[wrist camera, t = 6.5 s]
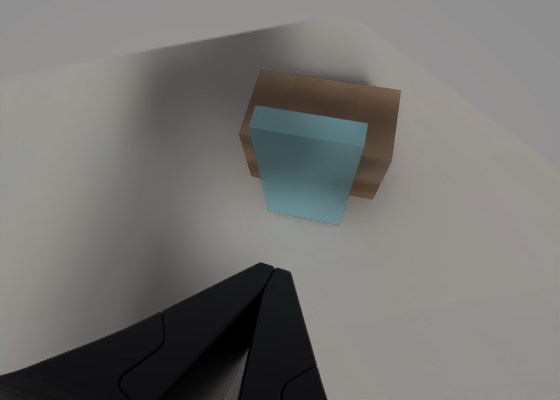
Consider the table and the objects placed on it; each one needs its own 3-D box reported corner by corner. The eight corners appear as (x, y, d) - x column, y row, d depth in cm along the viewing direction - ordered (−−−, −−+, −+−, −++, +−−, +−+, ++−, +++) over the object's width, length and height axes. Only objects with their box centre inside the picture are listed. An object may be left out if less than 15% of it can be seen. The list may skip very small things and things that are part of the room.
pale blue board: (338, 226, 23) (364, 147, 14) (268, 211, 24) (248, 127, 15) (352, 150, 26) (382, 38, 16) (288, 139, 26) (281, 25, 17)
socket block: (372, 199, 24) (391, 160, 19) (251, 175, 25) (239, 134, 20) (381, 139, 26) (401, 90, 21) (268, 120, 27) (260, 69, 22)
